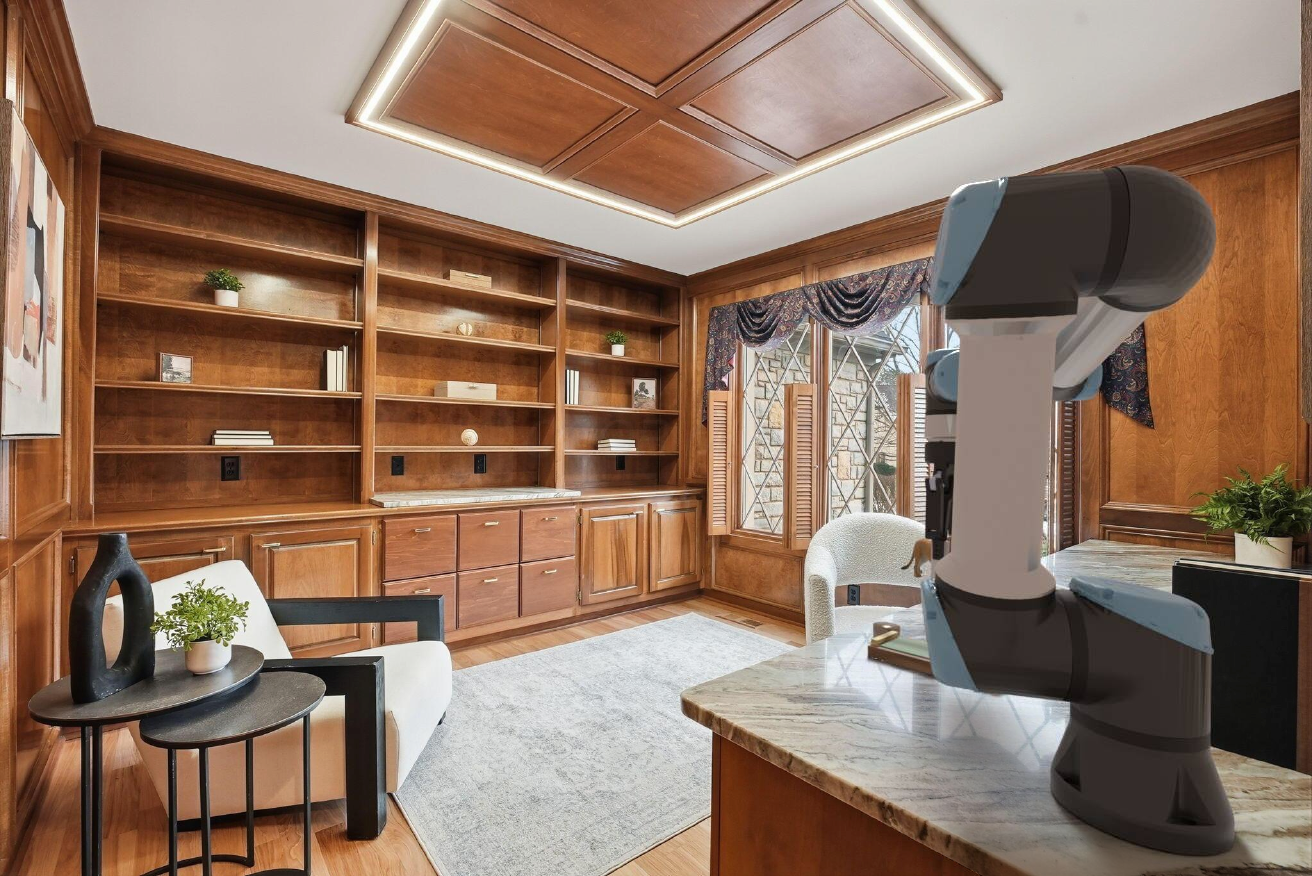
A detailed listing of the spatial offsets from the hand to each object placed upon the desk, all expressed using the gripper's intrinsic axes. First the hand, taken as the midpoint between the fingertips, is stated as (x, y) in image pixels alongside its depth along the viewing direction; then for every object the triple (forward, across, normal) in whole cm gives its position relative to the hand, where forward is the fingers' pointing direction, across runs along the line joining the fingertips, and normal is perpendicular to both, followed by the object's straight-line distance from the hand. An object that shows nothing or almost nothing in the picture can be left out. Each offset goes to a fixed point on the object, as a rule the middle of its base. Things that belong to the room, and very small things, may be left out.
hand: (947, 576), depth 106 cm
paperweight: (+16, +8, +14) cm, 23 cm away
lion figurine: (+1, +1, +2) cm, 2 cm away
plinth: (+16, +1, +2) cm, 16 cm away
